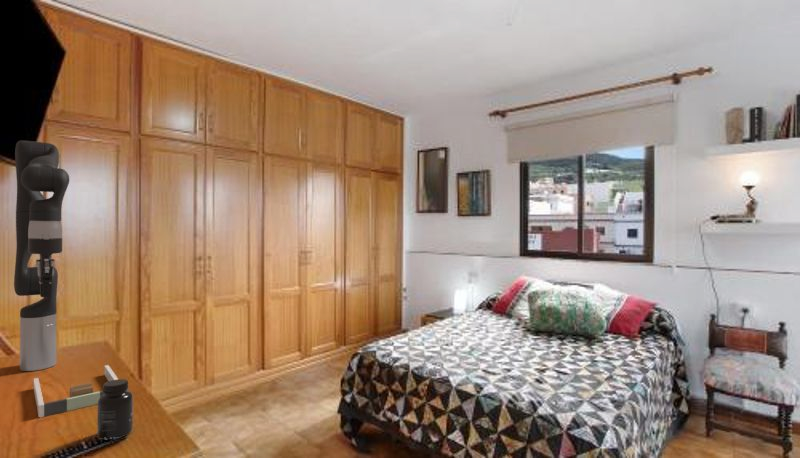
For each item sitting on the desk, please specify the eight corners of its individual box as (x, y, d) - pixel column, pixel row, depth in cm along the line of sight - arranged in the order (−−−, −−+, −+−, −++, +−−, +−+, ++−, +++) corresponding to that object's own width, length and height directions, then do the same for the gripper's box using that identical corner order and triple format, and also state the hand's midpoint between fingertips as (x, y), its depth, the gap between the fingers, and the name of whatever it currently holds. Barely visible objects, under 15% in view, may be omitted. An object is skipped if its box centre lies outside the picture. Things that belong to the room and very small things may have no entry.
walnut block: (69, 403, 114) (69, 386, 113) (90, 398, 117) (90, 382, 117) (71, 408, 110) (71, 391, 110) (92, 403, 113) (93, 387, 113)
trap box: (33, 388, 122) (33, 378, 122) (108, 374, 135) (108, 364, 134) (38, 417, 105) (38, 405, 105) (123, 397, 117) (124, 387, 117)
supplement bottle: (139, 431, 99) (139, 380, 99) (109, 444, 93) (109, 390, 93) (121, 424, 102) (121, 375, 102) (90, 437, 96) (90, 385, 96)
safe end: (66, 409, 109) (66, 398, 109) (99, 402, 114) (99, 391, 114) (66, 411, 108) (66, 399, 108) (99, 403, 113) (100, 392, 113)
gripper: (27, 236, 124) (27, 294, 124) (29, 237, 114) (29, 301, 114) (60, 235, 129) (59, 292, 129) (64, 237, 119) (64, 298, 119)
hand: (45, 296), depth 122 cm, fingers closed
